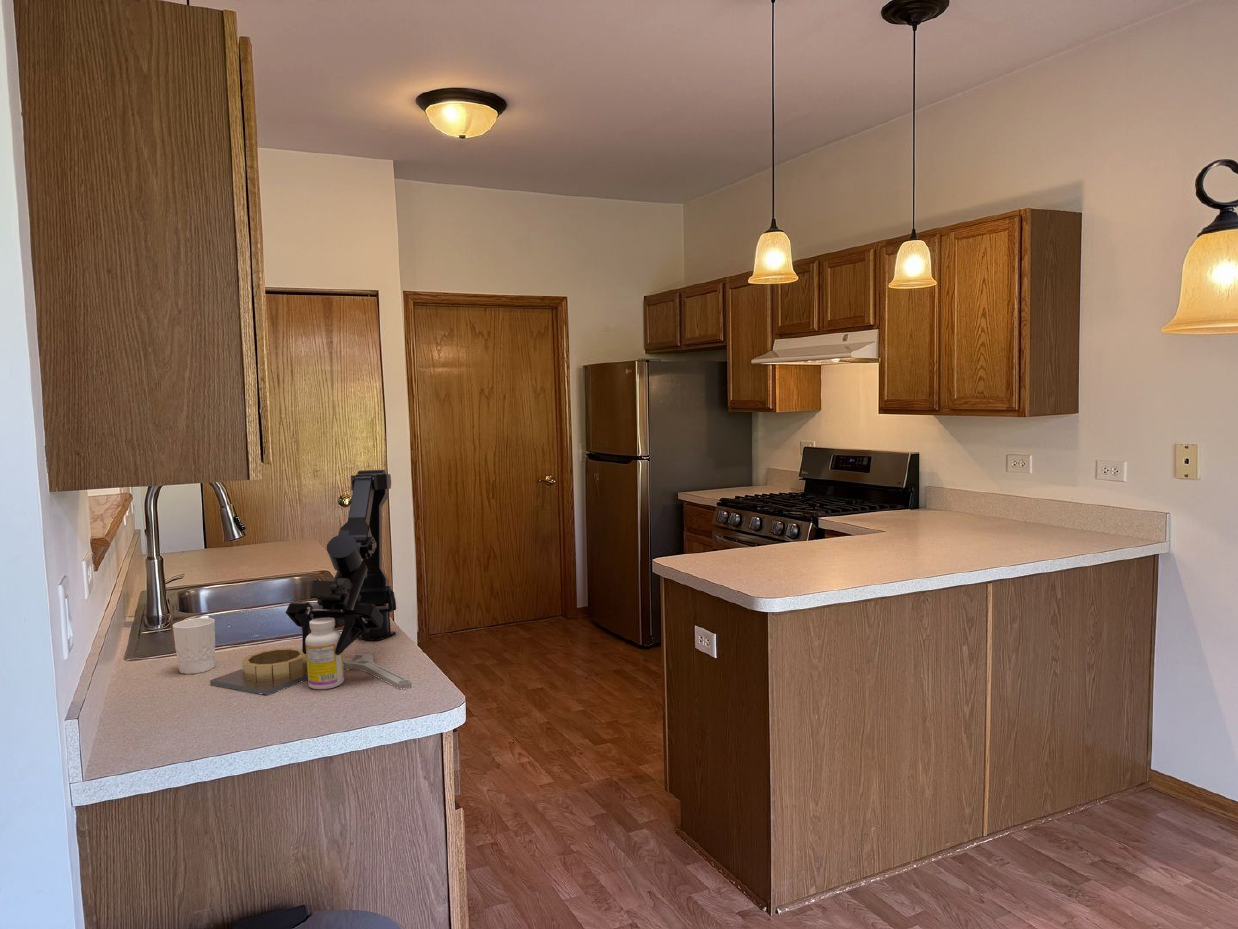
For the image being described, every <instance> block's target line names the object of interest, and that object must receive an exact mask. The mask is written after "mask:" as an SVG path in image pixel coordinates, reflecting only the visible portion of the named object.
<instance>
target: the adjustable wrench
mask: <svg viewBox="0 0 1238 929" xmlns="http://www.w3.org/2000/svg"><path fill="white" fill-rule="evenodd" d="M373 656H374V655H372V654H371V653H355V654H354V659H352V658H343V669H345V670H346V669H350V670H349V671H352V670H351V669H363V670H365V671H367V672H369V673H370V674H369V673H368V674H369V675H371V674H372V675H371V676H373V675H375V676H377V677H379V678H380V679H379V678H378V679H379V680H381V679H382V680H384V681H387V682H389V683H390V684H392V685H393V686H392V685H391V686H392V687H394V686H395V687H394V688H396V687H398V688H402V689H403V688H409V687H411V688H412V680H410V679H408V678H406V677H404V676H402V675H399V673H398V674H397V673H396V672H394V671H391V670H390V669H387V668H385V667H383V666H381V665H379V664H377V663H374V658H373ZM365 671H364V672H365ZM367 672H366V673H367ZM375 676H374V677H375ZM377 677H376V678H377ZM382 680H381V681H382ZM384 681H383V682H384ZM390 684H389V685H390ZM409 689H410V688H409ZM403 690H404V689H403Z"/></svg>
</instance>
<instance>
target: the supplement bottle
mask: <svg viewBox="0 0 1238 929" xmlns="http://www.w3.org/2000/svg"><path fill="white" fill-rule="evenodd" d="M335 626H336V620H335V619H334V618H330V617H328V618H318V619H314V620H311V621H310V628H311V633H310V634H309V635H308V636H307V637H306V640H305V643H306V657H307V671H308V680H307V681H308V682H307V684H308V686H309V688H311V689H313V690H328V689H332V688H336V687H338V686H340V685H342V684H343V683H344V681H345V674H344V673H345V672H344V671H345V670H344V667H343V659H344V658H343V656H344V655H343V652H342V653H341V654H340V655H336V654H335V650H336V646H337V643H338V641H339V638H340V636H341V633H340V631H339V630H336V629H335Z"/></svg>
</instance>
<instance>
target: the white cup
mask: <svg viewBox="0 0 1238 929" xmlns="http://www.w3.org/2000/svg"><path fill="white" fill-rule="evenodd" d="M215 622H216V621H215V619H214V618H212V617H198V618H197V617H196V618H190V619H185V620H181V621H177V622H175V623H173V624H172V632H173V639H174V647H175V652H176V659H177V664H178V666H177V667H178V672H179V673H181V674H184V675H193V674H194V675H195V674H200V673H204V672H209V671H210V670H212V669H214V668H215V666H216V662H215V661H216V658H215V654H216V636H215V635H216V628H215V627H216V625H215V624H216V623H215Z"/></svg>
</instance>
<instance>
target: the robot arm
mask: <svg viewBox="0 0 1238 929" xmlns="http://www.w3.org/2000/svg"><path fill="white" fill-rule="evenodd" d="M390 489H392V477H391V474H390V473H387V472H386V470H385V469H370V470H369V469H367V470H357V474H355V475H350V490H351V492H352V494H351V499H350V505H349V511H348V517H347V522H345V523H344V524H343V525H342V526H341V527H340V528H339V531H338V534H337V535H336V536H334V537H332V538H331V539H330V540H329V541H328V542H327V544H326V551H327V554H328V556H329V560H330V562H331V564H332V566H333V567H332V568H333V569H334V571H336V572H335V575H334V577H333V580H312V581H311V585H310V586H311V587H310V592H309V598H310V599H311V598H314V599H317V601H316V603H317V604H318V605H319V606H322V607H321V608H314V607H313V605H311V603H310V602H307V601H292V602H290V603H289V604H288V605H287V608H286V610H285V615H287V616H288V617H289V618H290V620H291V621H292V622H293V623H294V624H295V625H296V627H300V628H301V630H302V633H301V634H302V636H301V638H302V639H301V640H302V652H303V653H304V654H306V643H305V640H306V637H307V636H308V635H309V634H310V633H311V628H310V621H311V620H314V619H318V618H328V617H330V618H334V619H335V621H337V620H338V621H343V622H344V624H343V628H342V631H341V633H340V634H341V636H340V638H339V641H338V643H337V646H336V650H335V654H336V655H340V654H341V653H342V654H343V652H344V651H345V650H346V649H347V648H348V647H349V646H350V645H352V643H353V642H355V641H356V640H358V639H360V640H367V641H374V642H378V641H381V640H384V639H386V638H389V637H391V636H394V635H396V634H397V632H396V631H391V614H390V613H392V612H393V611H396V610H397V601H396V596H395V592H394V591H393V588H392V586H391V585H390V579H389V578H388V576H387V574H386V573H385V571H384V570H383V506H384V505H385V504H386V501H387V500H388V498H389V497H390V496H389V495H390Z"/></svg>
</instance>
